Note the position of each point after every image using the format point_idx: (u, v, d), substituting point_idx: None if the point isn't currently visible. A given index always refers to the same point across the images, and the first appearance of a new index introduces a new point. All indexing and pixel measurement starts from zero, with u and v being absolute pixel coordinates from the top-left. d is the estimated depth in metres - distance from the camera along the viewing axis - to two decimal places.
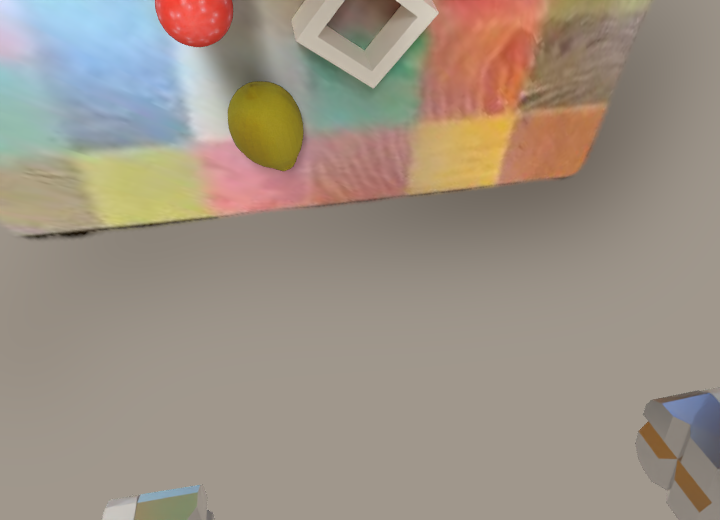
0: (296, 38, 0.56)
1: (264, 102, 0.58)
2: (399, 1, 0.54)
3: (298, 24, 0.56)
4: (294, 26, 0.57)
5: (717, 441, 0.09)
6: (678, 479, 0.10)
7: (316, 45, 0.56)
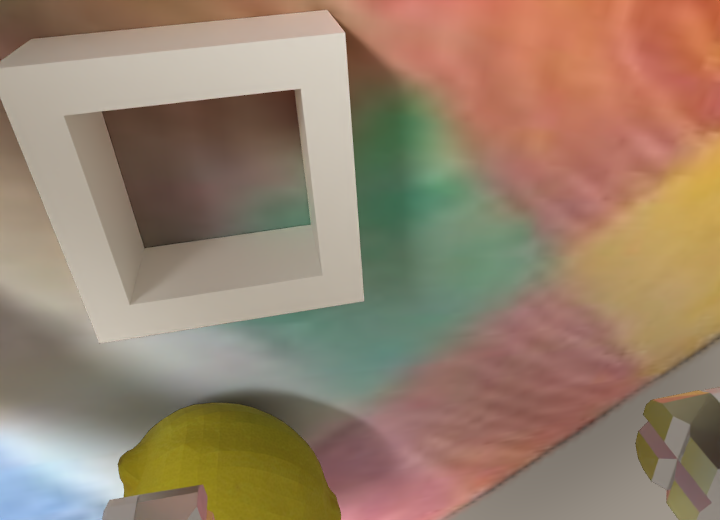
0: None
1: (149, 489, 0.24)
2: (215, 93, 0.17)
3: None
4: None
5: (717, 441, 0.09)
6: (678, 479, 0.10)
7: (148, 320, 0.21)
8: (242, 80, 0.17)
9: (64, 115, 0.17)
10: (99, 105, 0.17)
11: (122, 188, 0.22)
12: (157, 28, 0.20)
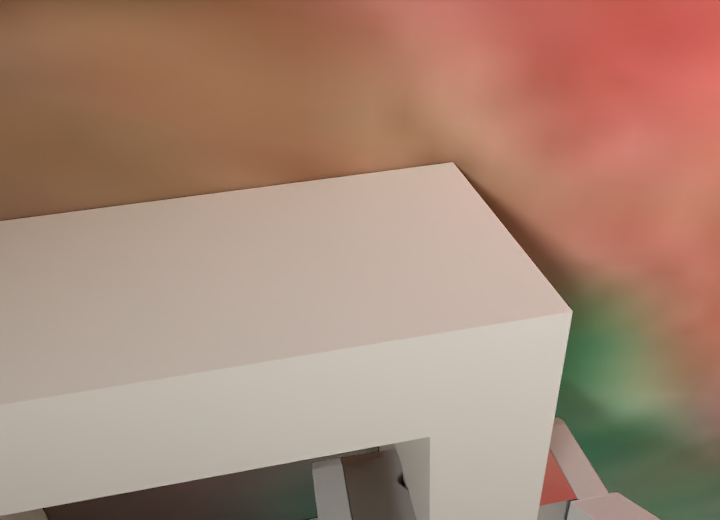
0: None
1: None
2: (198, 470, 0.06)
3: None
4: None
5: None
6: None
7: None
8: (273, 437, 0.06)
9: None
10: None
11: None
12: (68, 222, 0.08)
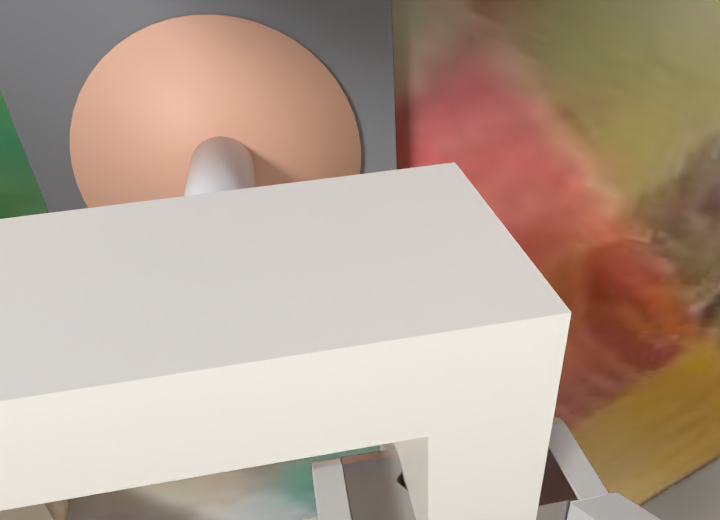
0: None
1: None
2: (196, 467, 0.06)
3: None
4: None
5: None
6: None
7: None
8: (272, 435, 0.06)
9: None
10: None
11: None
12: (71, 220, 0.08)
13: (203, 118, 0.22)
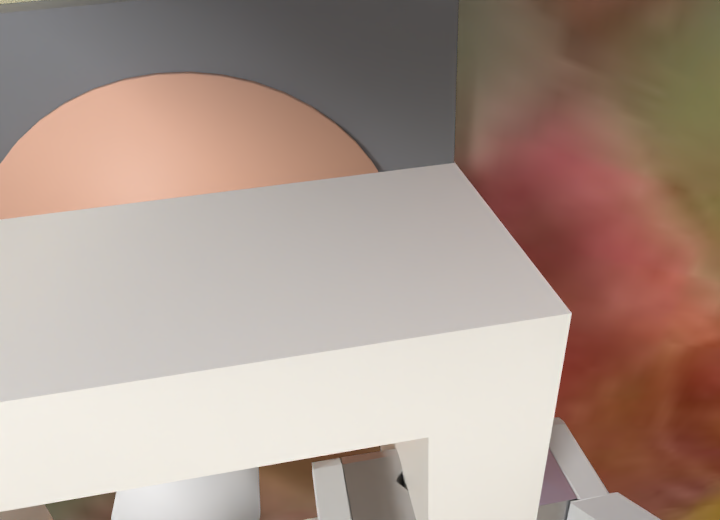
0: None
1: None
2: (196, 468, 0.06)
3: None
4: None
5: None
6: None
7: None
8: (272, 436, 0.06)
9: None
10: None
11: None
12: (71, 220, 0.08)
13: None
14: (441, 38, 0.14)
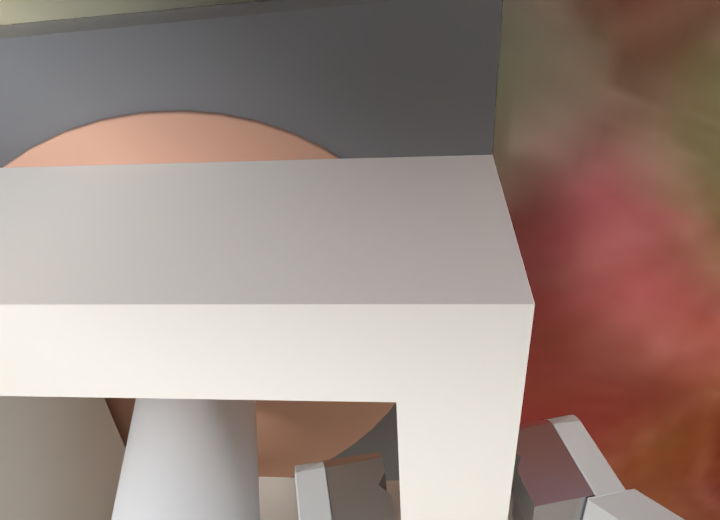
0: None
1: None
2: (191, 391, 0.07)
3: None
4: None
5: (543, 475, 0.09)
6: (514, 512, 0.10)
7: None
8: (253, 374, 0.07)
9: None
10: None
11: (92, 404, 0.13)
12: (141, 172, 0.10)
13: None
14: (479, 69, 0.12)
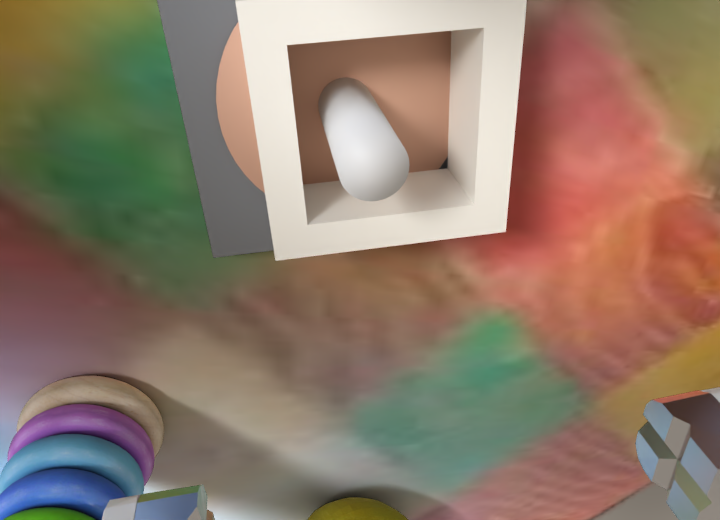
0: None
1: None
2: (413, 29, 0.20)
3: None
4: None
5: (717, 441, 0.09)
6: (678, 479, 0.10)
7: (320, 240, 0.24)
8: (437, 18, 0.20)
9: (287, 44, 0.20)
10: (317, 36, 0.20)
11: None
12: None
13: (334, 60, 0.24)
14: None
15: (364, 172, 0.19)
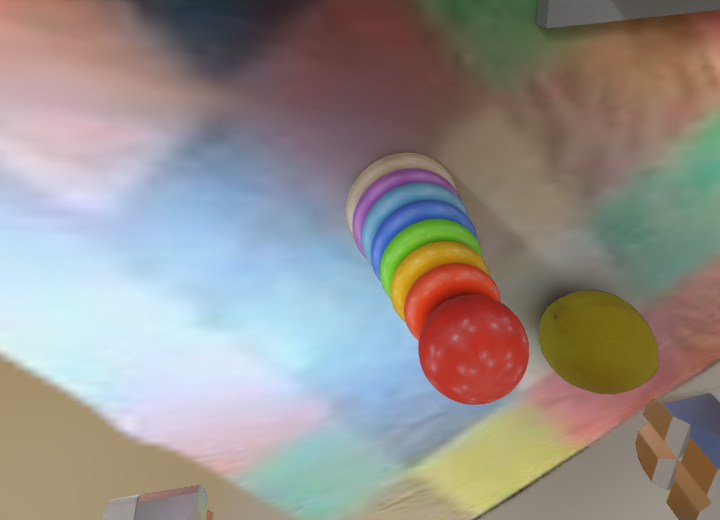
0: None
1: (583, 328, 0.43)
2: None
3: None
4: None
5: (717, 441, 0.09)
6: (678, 479, 0.10)
7: None
8: None
9: None
10: None
11: None
12: None
13: None
14: None
15: None
